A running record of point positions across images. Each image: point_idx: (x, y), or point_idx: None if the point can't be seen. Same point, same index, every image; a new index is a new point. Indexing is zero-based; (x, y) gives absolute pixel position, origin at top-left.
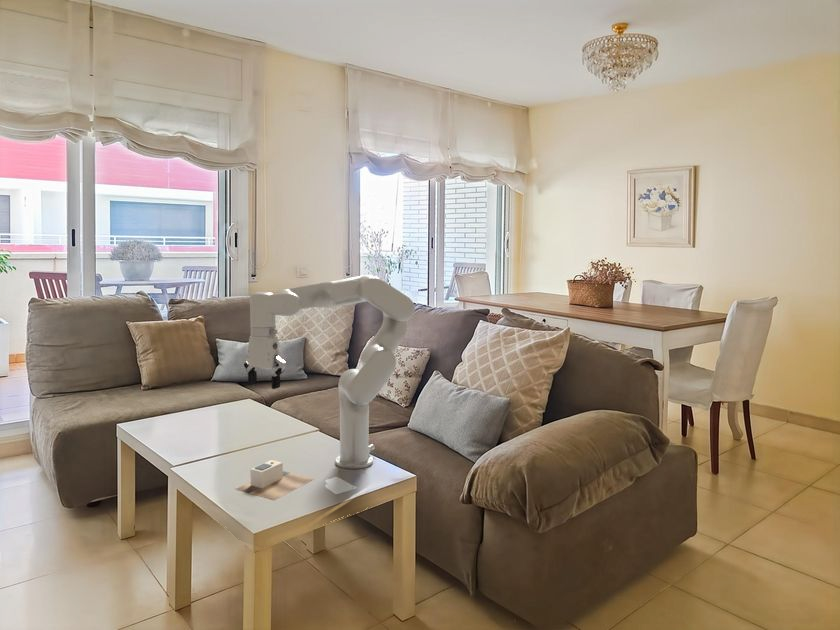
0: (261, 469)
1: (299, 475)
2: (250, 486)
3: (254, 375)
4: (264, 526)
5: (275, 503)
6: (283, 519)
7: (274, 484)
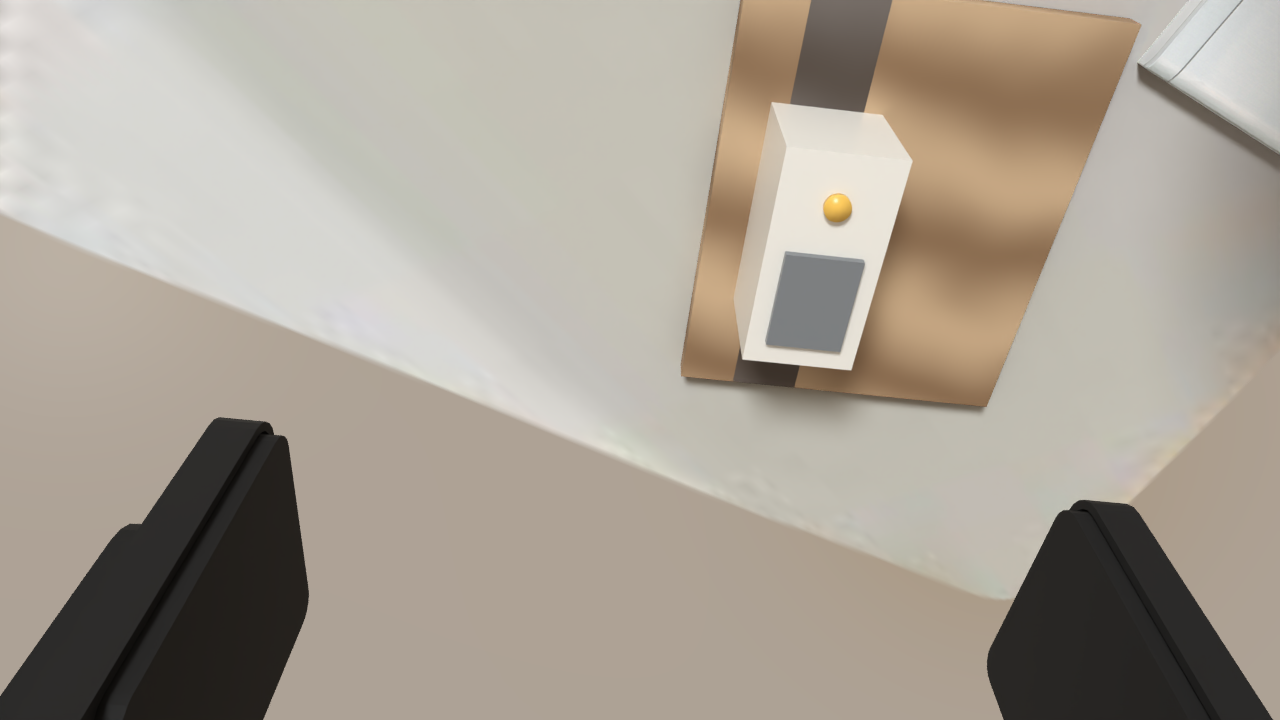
0: (832, 350)
1: (992, 12)
2: None
3: (199, 687)
4: None
5: None
6: None
7: None
